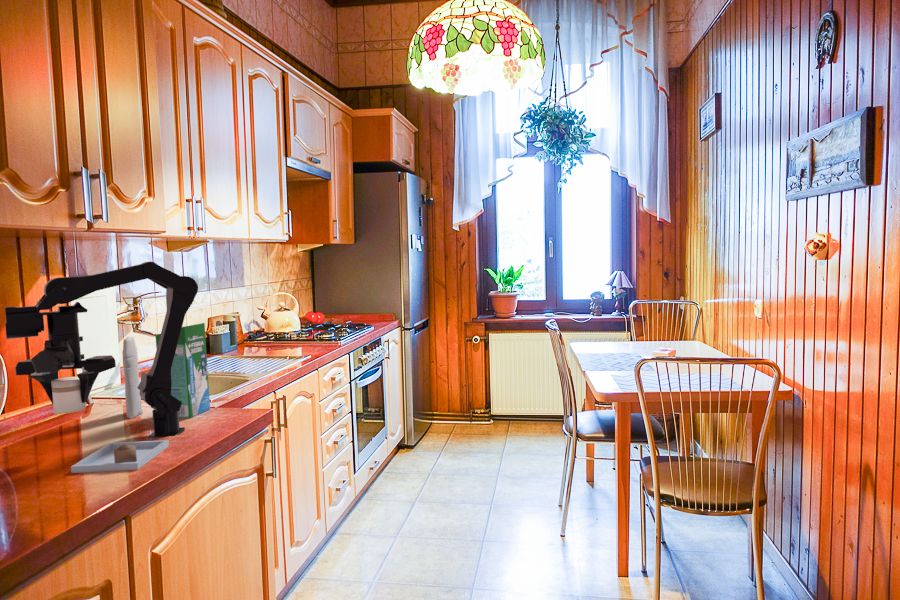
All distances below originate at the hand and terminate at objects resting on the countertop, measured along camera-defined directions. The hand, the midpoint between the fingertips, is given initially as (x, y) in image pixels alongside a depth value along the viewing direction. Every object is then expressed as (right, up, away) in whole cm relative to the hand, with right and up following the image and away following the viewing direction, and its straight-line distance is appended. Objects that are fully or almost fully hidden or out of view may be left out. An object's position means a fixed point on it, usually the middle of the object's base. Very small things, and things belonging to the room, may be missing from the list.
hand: (69, 403), depth 131 cm
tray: (+15, -11, -6) cm, 20 cm away
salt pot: (+18, -11, -10) cm, 23 cm away
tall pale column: (-4, -9, +34) cm, 35 cm away
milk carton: (+11, -9, +33) cm, 36 cm away
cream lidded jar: (0, -2, 0) cm, 2 cm away
